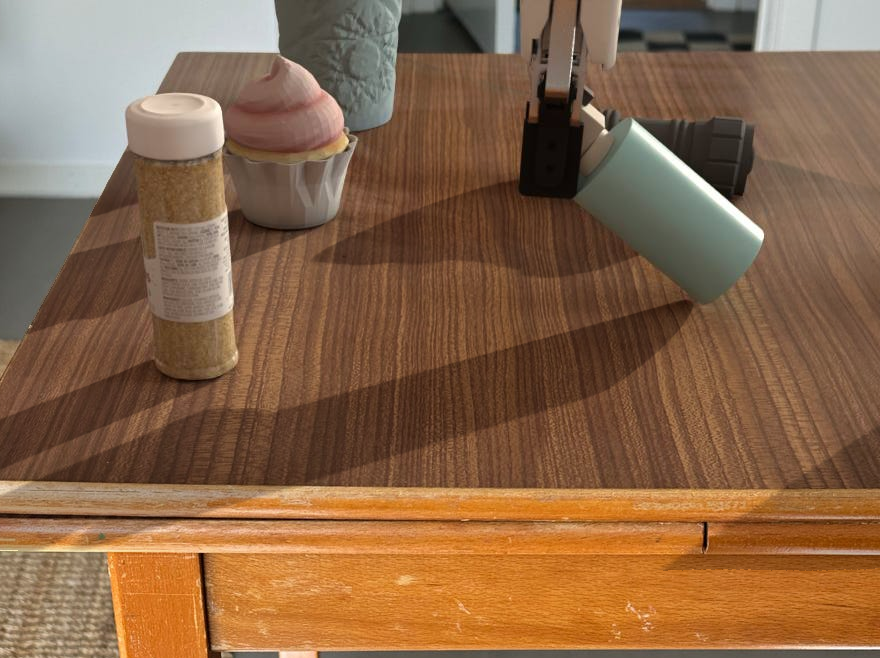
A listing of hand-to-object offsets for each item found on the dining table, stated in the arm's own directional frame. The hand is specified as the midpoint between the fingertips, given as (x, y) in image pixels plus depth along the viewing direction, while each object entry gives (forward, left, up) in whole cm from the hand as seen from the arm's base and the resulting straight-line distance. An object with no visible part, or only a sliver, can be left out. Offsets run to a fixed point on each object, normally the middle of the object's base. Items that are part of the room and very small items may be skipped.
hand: (548, 183), depth 74 cm
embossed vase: (+33, -15, -7) cm, 36 cm away
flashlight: (+7, -18, -7) cm, 20 cm away
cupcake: (+20, +2, -7) cm, 21 cm away
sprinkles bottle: (+7, +20, -7) cm, 22 cm away
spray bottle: (-3, -2, -2) cm, 4 cm away
